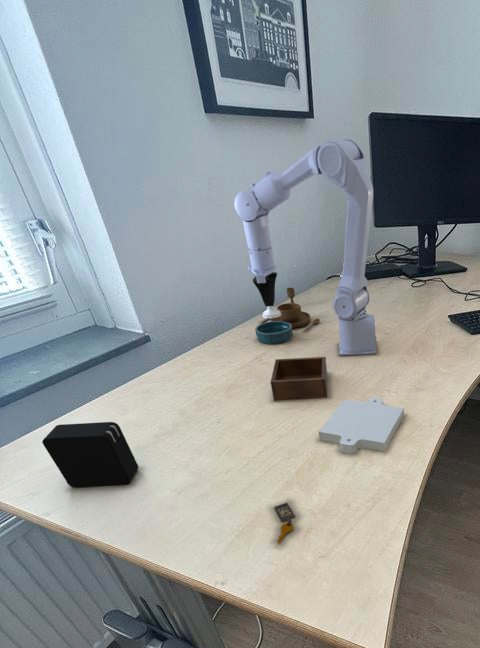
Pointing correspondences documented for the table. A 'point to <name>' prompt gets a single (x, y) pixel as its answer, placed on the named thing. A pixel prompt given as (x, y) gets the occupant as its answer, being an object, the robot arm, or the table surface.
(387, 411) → the mounting plate
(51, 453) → the electronic device
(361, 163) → the robot arm
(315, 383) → the box
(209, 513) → the table surface
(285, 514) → the key tag
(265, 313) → the chess piece
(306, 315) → the place setting
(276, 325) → the bowl
